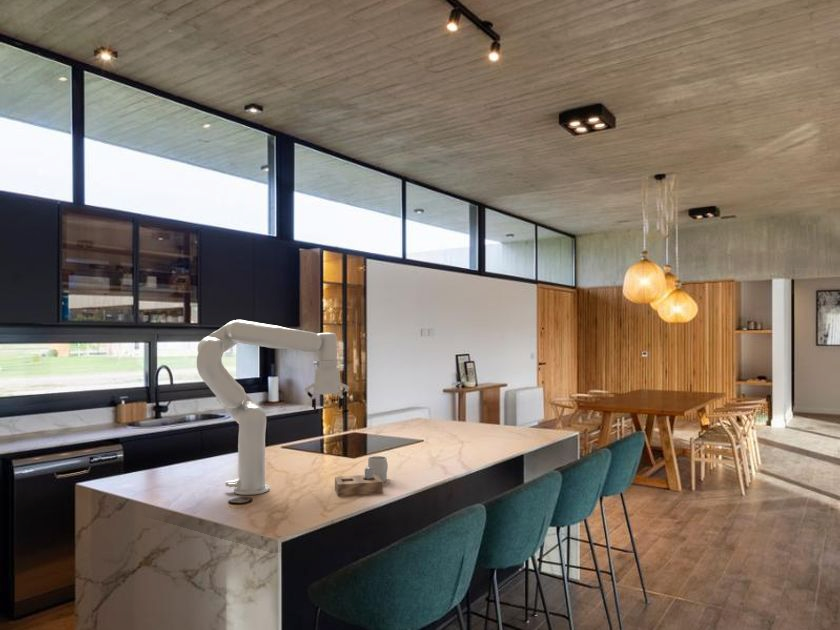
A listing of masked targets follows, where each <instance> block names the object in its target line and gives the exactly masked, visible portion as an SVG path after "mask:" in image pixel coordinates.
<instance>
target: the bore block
mask: <svg viewBox="0 0 840 630" xmlns="http://www.w3.org/2000/svg"><path fill="white" fill-rule="evenodd" d="M373 477H374V480H365V474H362V475H361V474H360V475H345V476H342V475H341V476H334V490H335V492H336V495H337V496H338V497H342V496H343V497H344V496H356V495H358V496H359V495H371V494H372V495H373V494H383V492H384V491H383V490H384V488H383V487H384V486H383V485H384V484H383V482H382V480H381V479H380V477H379V476H378V475H377V474H375V475H373Z"/></svg>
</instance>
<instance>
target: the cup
mask: <svg viewBox="0 0 840 630" xmlns="http://www.w3.org/2000/svg"><path fill="white" fill-rule="evenodd" d="M387 459H388V458H387V457H386V456H381V455H380V456H379V455H375V456H370V457H368V458H367V467H373V475H375V474H377V475H378V476H379V477H380V479H381V480H382V482H383V483H386V482H387V479H388V477H387V475H388V474H387V473H388V461H387Z"/></svg>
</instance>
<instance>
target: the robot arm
mask: <svg viewBox="0 0 840 630" xmlns="http://www.w3.org/2000/svg"><path fill="white" fill-rule="evenodd" d="M238 344H242V345H243V344H244V345H250V346H258V347H262V348H263V347H265V348H269V349H286V350H294V351H295V350H296V351H301V352H304V353H305V352H306V353H315V352H316V353H317V356H316V357H317V360H316V361H313V366H315V370H314V376H313V377H314V378H313V383H311V384H309V385H307V386H306V387H304V391H305V393H306V394H307V396H308V397H309V398H310V399H311V407H312V408H313V410H315V411H316V409H317V399H316V397H317V396H318V395H336V394H337V396H338V401H337V402H338V403H337V405H338V406H337V407H338V409H339V410H341V409H342V407H343V398H345V396H346V395H348V392H349V390H350V386H349V385H347V384H345V383H343V382H341V374H340V373H341V372H340V371H341V370H340V368H339V367H338V345H337V344H338V338H337V334H336V333H334V332H320V333H316V332H312V331H306V330H300V329H294V328H288V327H283V326H280V325H274V324H267V323H262V322H257V321H249V320H244V319H236V320H235V319H233V320H231V321H229V322H227V323H226V324H225V325H223V326H222V327H220V328H219V329H217V330H215V331H213V332H212V333H210V334H209V335H207V336H205V337H203V338H202V339H201V340H200V341H199V343H198V345H197V357H196V370H197V372H198V374H199V376H200V378H201V379H202V381H203V382H204V383H205V385H206V386H207V387H208V388H209V389H210V390H211V392H212V393H213V394H214V395H215V397H216V401H217V402H218V403H219V404H220V405H221V406H222V408H224V410H225V411H226V412H227V413H228V414H229V415H230V416H231V417H232V419H233V420H234V421H235V422H236V423H237V424H238V439H237V441H238V442H237V443H238V444H237V448H238V449H237V453H238V454H237V455H238V463H237V465H238V466H237V467H238V470H237V471H238V472H237V474H238V475H237V476H238V477H237V479H234V480H225V487H228V488H233V487H234V488H233V493H234V494H236V495H241V496H250V495H251V496H253V495H259V494H261V495H262V494H265V493H266V492H268V491H270V490H271V489H270V485H269V484H266V430H267V415H266V412H265V411H264V408H262V407H261V406H260V405H258V404H256V403H255V402H254V400H253V399H252V398H251V397H250V396H249V395H248V394H247V393H246V392H245V389H244V387H243V386H242V385H241V384H240V383H239V382H237V380H236V379H234V377H233V376H232V375H231V374H230V373H229V371H228V370H227V369H226V367H225V366H224V364H223V362H222V361H223V360H222V358H223V355H224V353H225V352H227V351H229V350H231V348H233V347H234V346H236V345H238ZM312 388H313V391H314V392H313V393H311V392H310V389H312ZM342 388H344V391H343V392H342V393H341V390H342Z"/></svg>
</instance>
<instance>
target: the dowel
mask: <svg viewBox="0 0 840 630" xmlns="http://www.w3.org/2000/svg"><path fill="white" fill-rule="evenodd" d="M364 475H365V480H374V477H373V467H368V466H365V467H364Z"/></svg>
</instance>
